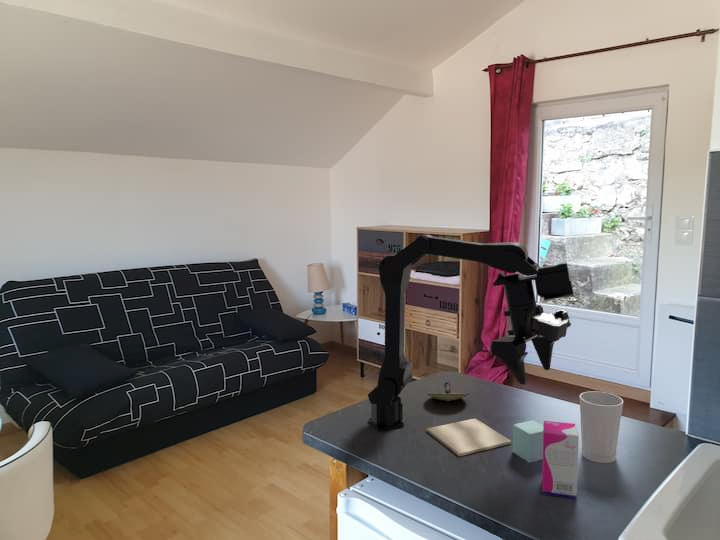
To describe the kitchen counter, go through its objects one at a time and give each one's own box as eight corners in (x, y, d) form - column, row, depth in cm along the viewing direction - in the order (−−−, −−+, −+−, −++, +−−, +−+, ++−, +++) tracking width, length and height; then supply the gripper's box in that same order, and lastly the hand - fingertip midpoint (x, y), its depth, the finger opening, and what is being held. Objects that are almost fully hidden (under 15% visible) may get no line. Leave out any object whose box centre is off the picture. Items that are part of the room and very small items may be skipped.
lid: (430, 410, 132) (430, 390, 131) (424, 395, 142) (424, 377, 141) (472, 409, 132) (473, 389, 131) (464, 394, 142) (464, 376, 141)
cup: (602, 469, 102) (604, 409, 101) (568, 451, 109) (570, 395, 108) (629, 459, 106) (632, 401, 104) (595, 443, 113) (597, 388, 111)
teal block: (529, 463, 105) (530, 434, 104) (512, 452, 110) (513, 424, 109) (549, 457, 107) (550, 429, 106) (532, 447, 112) (532, 420, 111)
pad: (459, 456, 108) (459, 453, 108) (426, 431, 120) (426, 428, 120) (511, 443, 113) (511, 441, 113) (475, 420, 125) (475, 418, 125)
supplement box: (575, 482, 98) (577, 422, 96) (577, 499, 92) (579, 436, 91) (541, 477, 100) (543, 419, 98) (541, 494, 94) (543, 432, 92)
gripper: (530, 313, 97) (546, 396, 98) (581, 291, 109) (594, 365, 110) (481, 315, 106) (496, 390, 107) (533, 293, 118) (546, 362, 119)
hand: (535, 376), depth 110 cm, fingers open, 9 cm apart
